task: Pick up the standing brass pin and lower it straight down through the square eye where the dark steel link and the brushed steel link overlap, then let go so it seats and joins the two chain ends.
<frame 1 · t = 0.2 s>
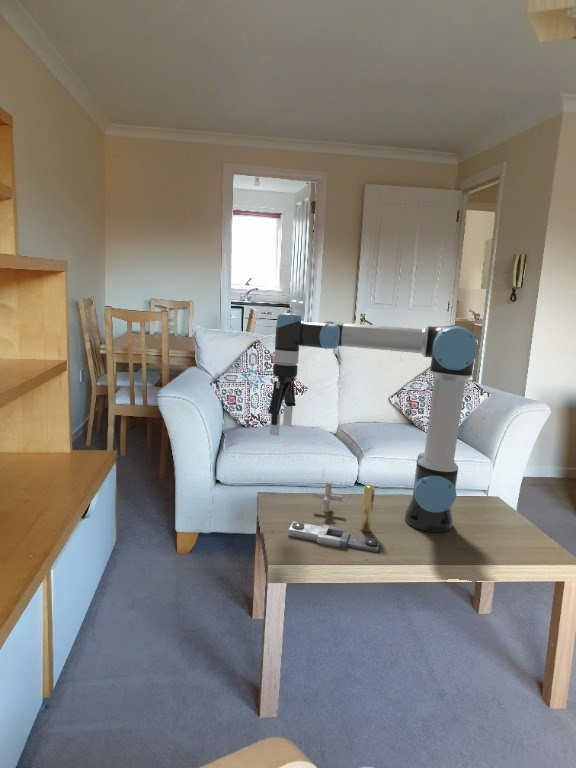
hand: (280, 430, 167), 28 cm above the table, fingers open, 13 cm apart
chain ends: (333, 539, 156), on the table
pipe connector: (326, 511, 176), on the table
pin: (365, 529, 164), on the table
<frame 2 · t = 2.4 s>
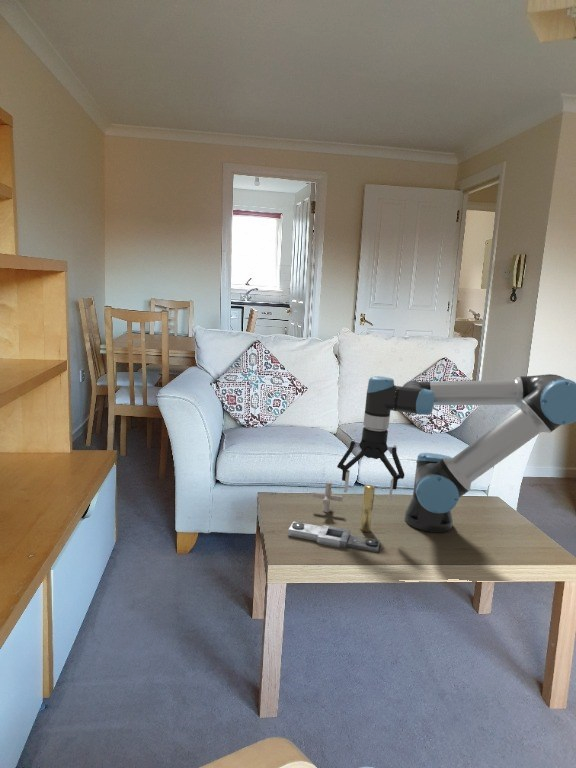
hand: (367, 495, 162), 11 cm above the table, fingers open, 13 cm apart
nothing on the table moved.
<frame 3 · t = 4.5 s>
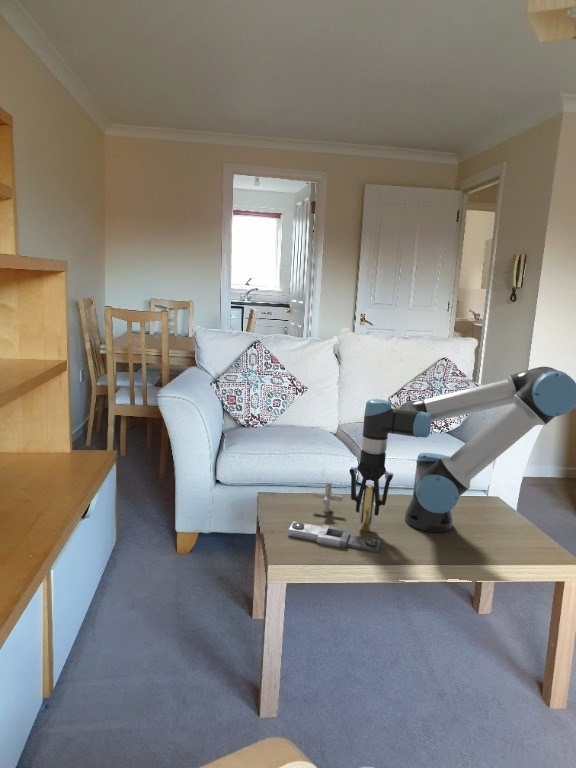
hand: (366, 523, 164), 2 cm above the table, fingers closed on pin, 3 cm apart
pin: (365, 529, 164), on the table, touching gripper
everything else where it was.
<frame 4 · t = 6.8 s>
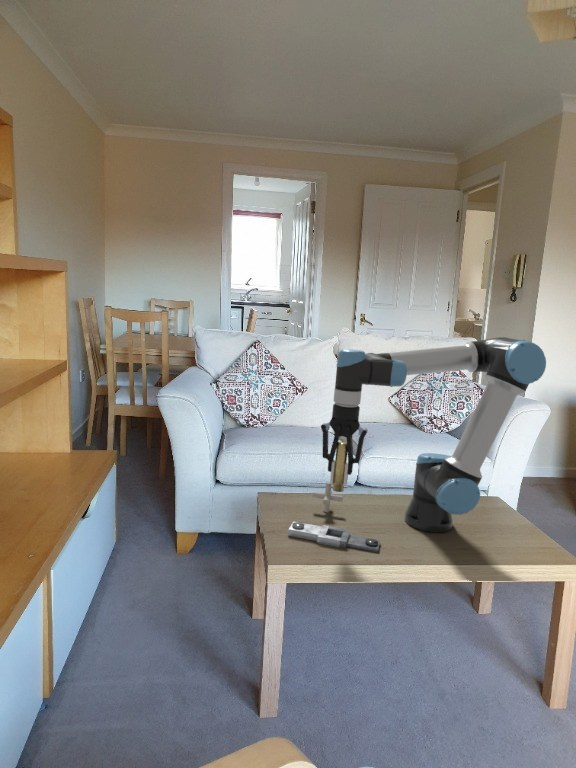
hand: (338, 483, 153), 17 cm above the table, fingers closed on pin, 3 cm apart
pin: (338, 489, 153), point 15 cm above the table, touching gripper
everything else where it was.
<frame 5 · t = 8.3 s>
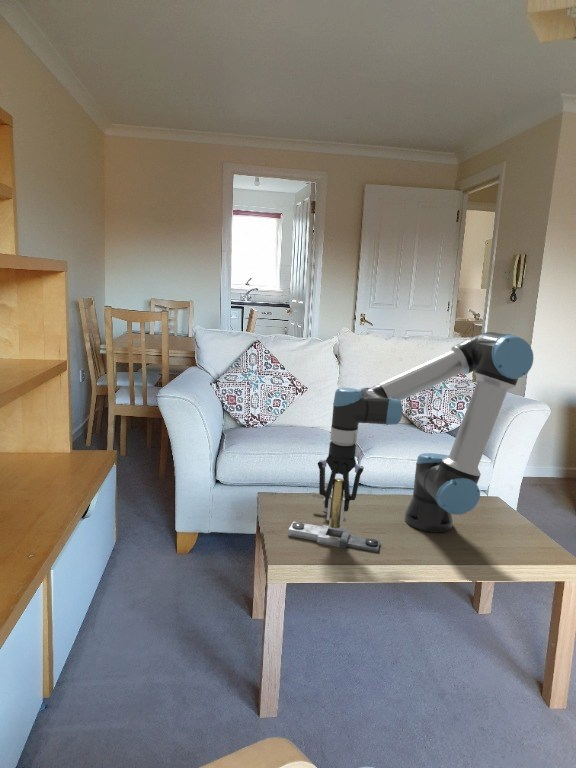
hand: (335, 519, 155), 6 cm above the table, fingers closed on pin, 3 cm apart
pin: (334, 525, 155), point 4 cm above the table, touching gripper
everything else where it was.
when the fingers open (3 cm above the table, at t = 9.4 s): pin drops 1 cm, on the table.
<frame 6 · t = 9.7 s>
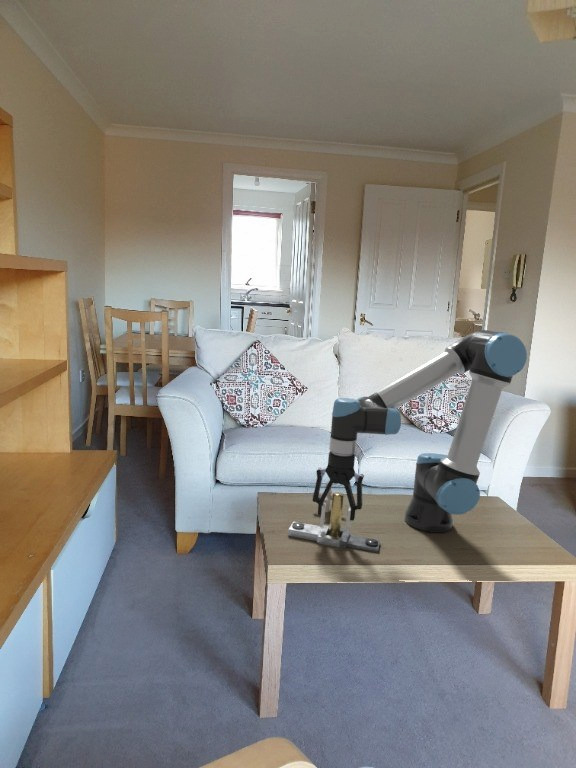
hand: (334, 527, 155), 4 cm above the table, fingers open, 7 cm apart
pin: (333, 539, 156), on the table
everything else where it was.
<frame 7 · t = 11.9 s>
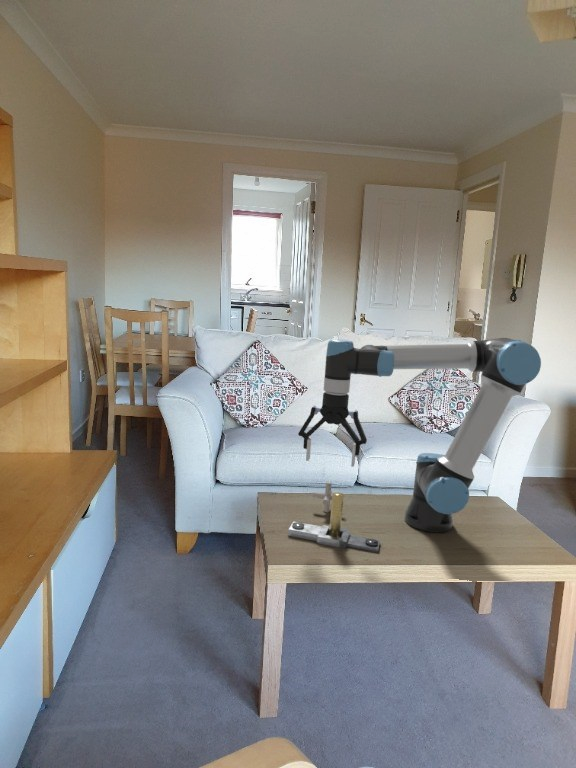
hand: (330, 462, 158), 21 cm above the table, fingers open, 13 cm apart
nothing on the table moved.
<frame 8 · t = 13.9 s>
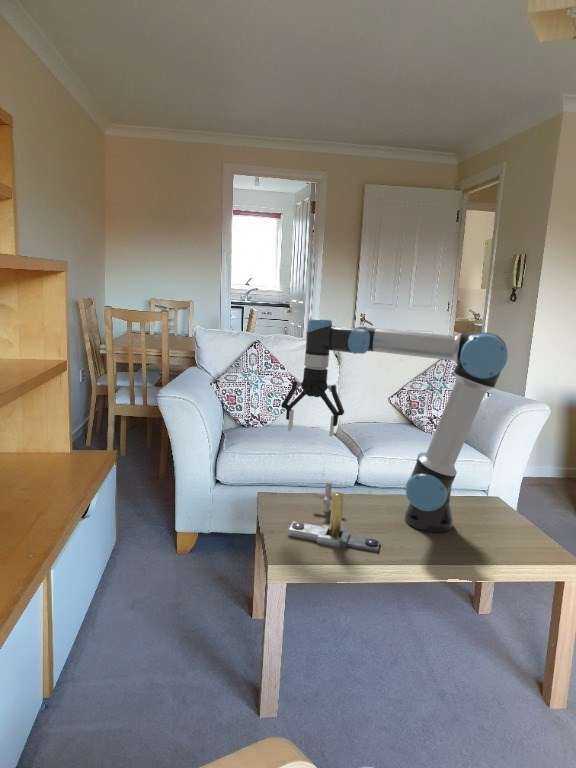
hand: (310, 432, 171), 27 cm above the table, fingers open, 13 cm apart
nothing on the table moved.
at the end: pin 0.0 cm off-centre on the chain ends, point 0.0 cm above the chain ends's base; pin tilted 0°; the gripper is holding nothing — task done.
